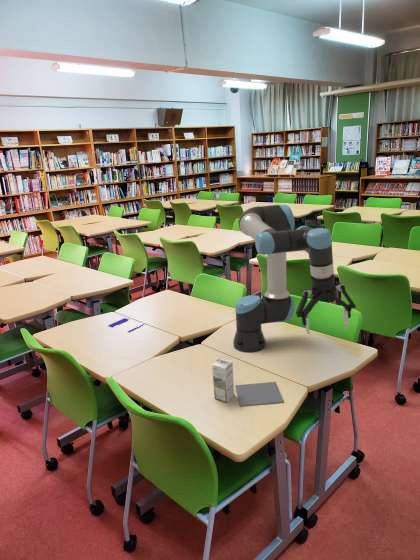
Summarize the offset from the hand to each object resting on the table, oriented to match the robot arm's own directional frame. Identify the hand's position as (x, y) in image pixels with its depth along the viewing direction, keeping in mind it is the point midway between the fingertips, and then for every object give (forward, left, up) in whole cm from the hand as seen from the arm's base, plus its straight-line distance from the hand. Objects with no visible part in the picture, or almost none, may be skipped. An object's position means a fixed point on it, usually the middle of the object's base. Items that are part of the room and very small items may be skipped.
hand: (327, 329), depth 149 cm
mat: (-3, -25, -26) cm, 36 cm away
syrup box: (-3, -38, -26) cm, 46 cm away
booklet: (-80, -81, -26) cm, 117 cm away
